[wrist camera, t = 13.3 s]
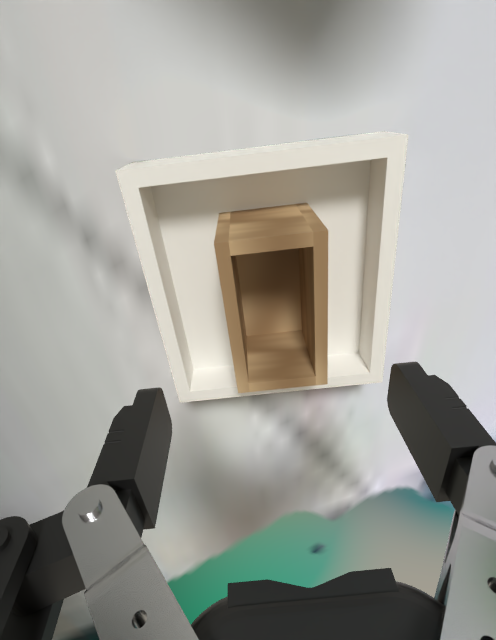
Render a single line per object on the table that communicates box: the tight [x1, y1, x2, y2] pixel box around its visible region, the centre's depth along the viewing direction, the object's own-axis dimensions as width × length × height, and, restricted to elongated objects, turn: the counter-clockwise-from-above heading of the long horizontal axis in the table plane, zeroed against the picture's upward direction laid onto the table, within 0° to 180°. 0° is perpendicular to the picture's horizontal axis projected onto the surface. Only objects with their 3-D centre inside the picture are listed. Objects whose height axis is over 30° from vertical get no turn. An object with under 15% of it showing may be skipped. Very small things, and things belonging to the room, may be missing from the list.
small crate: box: [214, 203, 328, 393], centre depth 18 cm, size 5×8×5 cm, turn 6°
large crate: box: [116, 131, 408, 403], centre depth 20 cm, size 13×14×3 cm
